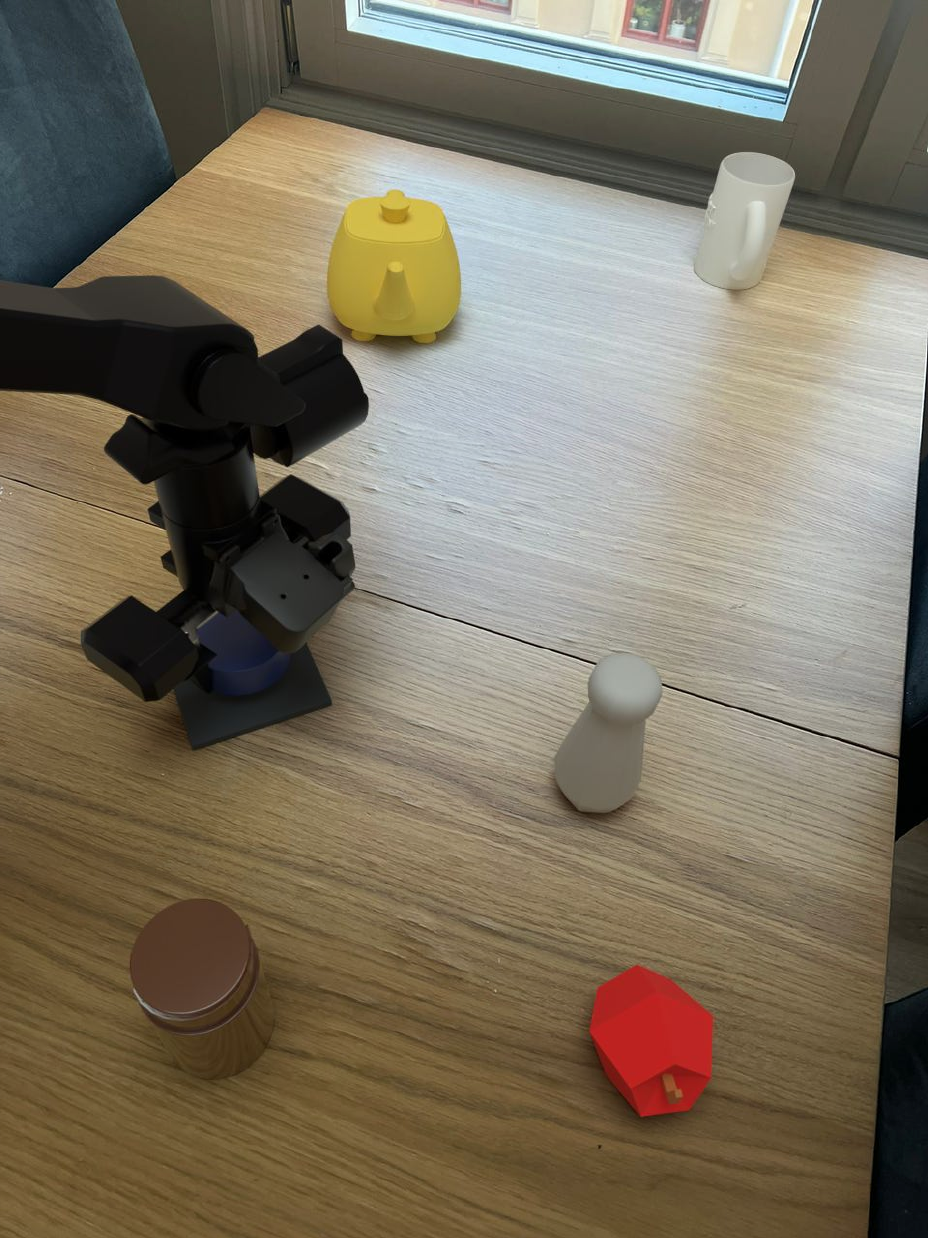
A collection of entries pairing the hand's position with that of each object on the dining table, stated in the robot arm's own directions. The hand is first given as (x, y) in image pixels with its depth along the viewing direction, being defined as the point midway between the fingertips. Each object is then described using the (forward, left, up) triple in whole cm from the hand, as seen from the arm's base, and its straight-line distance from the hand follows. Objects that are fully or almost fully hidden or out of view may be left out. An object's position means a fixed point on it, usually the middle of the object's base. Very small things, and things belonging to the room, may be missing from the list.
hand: (241, 657), depth 66 cm
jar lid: (0, 0, +3) cm, 3 cm away
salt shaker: (+19, -18, -2) cm, 26 cm away
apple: (+13, -34, -2) cm, 36 cm away
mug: (+67, +34, -2) cm, 75 cm away
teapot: (+27, +38, -2) cm, 47 cm away
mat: (0, 0, -2) cm, 2 cm away
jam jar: (-8, -23, -2) cm, 24 cm away
